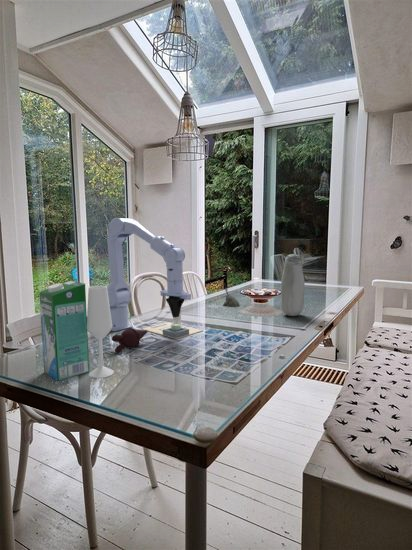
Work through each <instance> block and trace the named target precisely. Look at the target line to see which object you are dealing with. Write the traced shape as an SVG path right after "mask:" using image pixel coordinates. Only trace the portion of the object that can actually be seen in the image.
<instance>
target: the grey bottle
mask: <svg viewBox="0 0 412 550" xmlns="http://www.w3.org/2000/svg"><path fill="white" fill-rule="evenodd" d="M302 263H303V259H302V257H301V256H300V255H299V254H297V253H290V254H288V255H286V257H285V259H284V265H283V272H282V276H281V281H280V282H281V283H280V293H281V294H280V299H281V300H280V301H281V302H280V303H281V305H280V306H281V310H282V311H283V313H284V314H285V315H286V316H287V317H296V316H299V315H300V314H302V312H303V310H304V304H305V275H304V271H303V264H302Z"/></svg>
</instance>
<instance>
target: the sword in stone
mask: <svg viewBox="0 0 412 550" xmlns="http://www.w3.org/2000/svg"><path fill="white" fill-rule="evenodd" d="M223 285H224V288H225V293H226V295H225V301H224V303H223V304H222V306H223V307H229V308H230V307H231V308H239V307H240V306H241V305H240V302H239V301H238V300H237V299H236V298H235V297H234V296H231V295H229V290H228V288H227V286H226V283H225V282H224V283H223Z"/></svg>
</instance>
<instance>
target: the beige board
mask: <svg viewBox="0 0 412 550" xmlns="http://www.w3.org/2000/svg"><path fill="white" fill-rule="evenodd" d="M172 324H173V322H169V321H168V322H164V323H160V324H156V325H152V326H149V327H143V328H141V330H147V331H148V332H150V333H153V334H157V335H161V336H165V337H168V338H172V339H175V340H178V339H181V338H185V337H188V336H192V335H194V334H198V333H202V332H204V330H202V329H197V328H194V327H191V326H185V325H182V324H181V327H182V328H186V329H189V334H187V335H184V336H180V337H177V338H174V337H170V336H167V335H163V330H164V329H167V328H171V325H172Z"/></svg>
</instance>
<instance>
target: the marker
mask: <svg viewBox="0 0 412 550" xmlns="http://www.w3.org/2000/svg"><path fill="white" fill-rule="evenodd" d="M172 323H173V324H180V325H182V308H181V309H180V313H179V317H173V316H172Z"/></svg>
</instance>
